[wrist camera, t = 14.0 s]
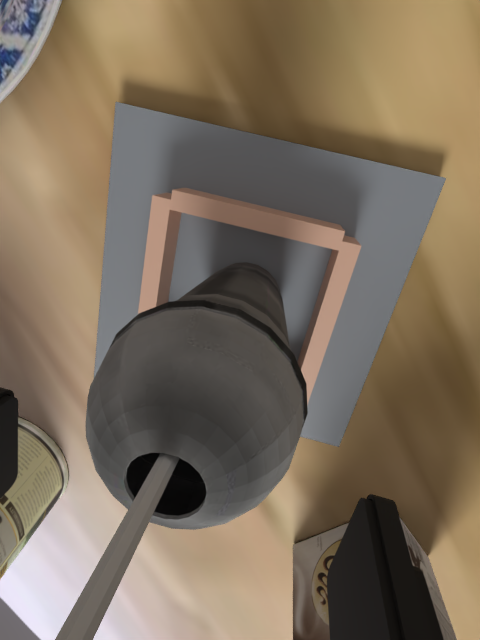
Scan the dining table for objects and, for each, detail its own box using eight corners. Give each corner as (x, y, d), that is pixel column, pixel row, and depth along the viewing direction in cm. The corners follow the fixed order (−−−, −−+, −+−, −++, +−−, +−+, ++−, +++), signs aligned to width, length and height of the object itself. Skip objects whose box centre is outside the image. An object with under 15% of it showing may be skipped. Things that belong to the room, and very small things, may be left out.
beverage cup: (186, 344, 26) (-101, 793, 7) (187, 233, 23) (-270, 497, 4) (296, 357, 25) (292, 898, 6) (311, 244, 22) (375, 615, 4)
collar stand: (439, 177, 21) (465, 179, 18) (337, 437, 28) (342, 472, 25) (123, 104, 22) (93, 93, 19) (100, 374, 29) (75, 400, 25)
